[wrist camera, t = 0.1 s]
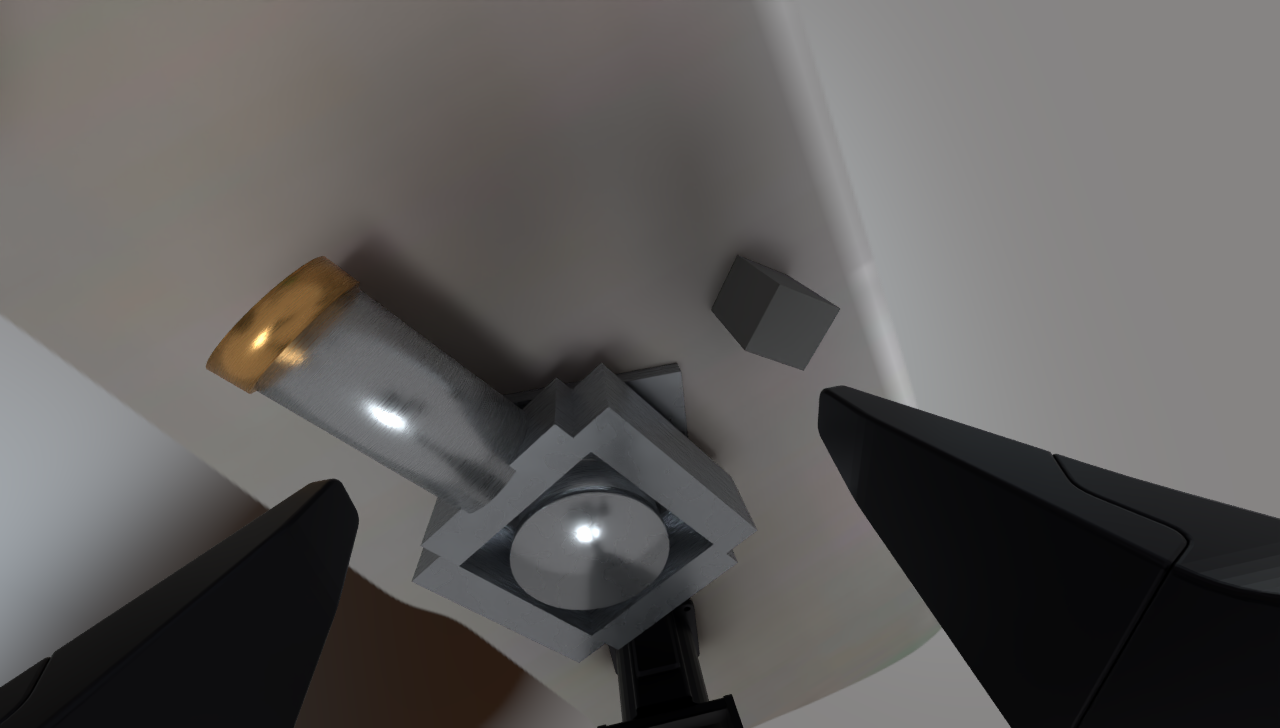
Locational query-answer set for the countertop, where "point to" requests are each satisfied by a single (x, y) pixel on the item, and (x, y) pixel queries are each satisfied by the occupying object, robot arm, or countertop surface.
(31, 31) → the countertop surface
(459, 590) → the flanged pipe fitting
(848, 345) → the countertop surface
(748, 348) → the block
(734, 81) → the countertop surface
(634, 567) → the duct stub
